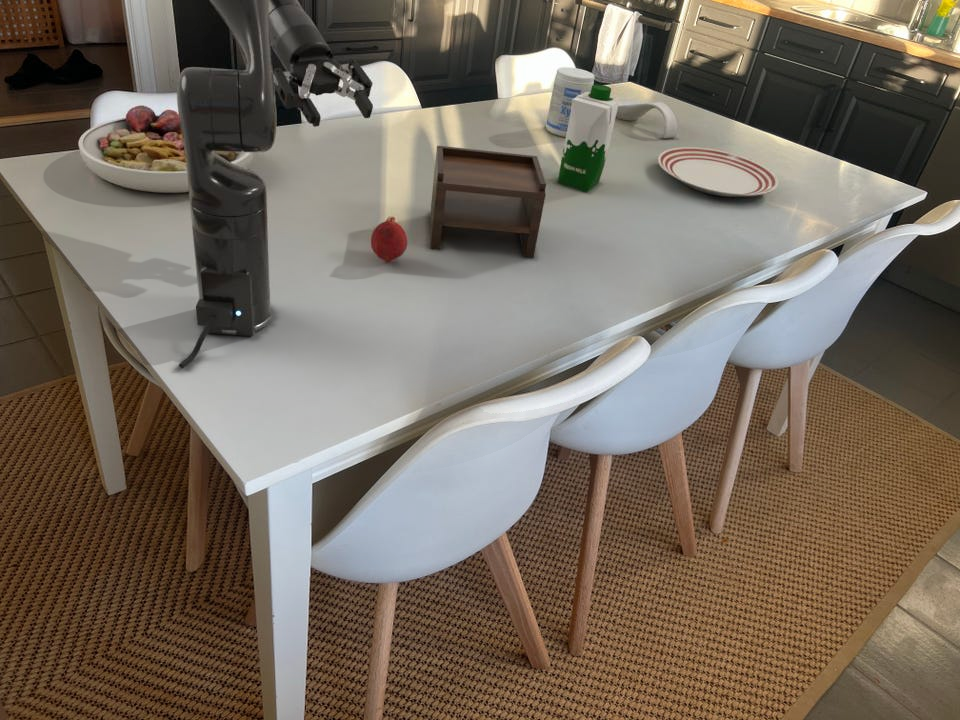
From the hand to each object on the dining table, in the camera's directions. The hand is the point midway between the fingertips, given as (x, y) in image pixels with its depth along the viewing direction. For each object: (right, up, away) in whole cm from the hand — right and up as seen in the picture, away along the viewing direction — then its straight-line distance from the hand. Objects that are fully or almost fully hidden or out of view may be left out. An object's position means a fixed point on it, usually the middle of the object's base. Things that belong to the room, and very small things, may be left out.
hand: (344, 118), depth 113 cm
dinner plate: (+75, +5, +62) cm, 97 cm away
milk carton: (+41, +2, +50) cm, 65 cm away
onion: (+5, -20, +10) cm, 23 cm away
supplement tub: (+42, +21, +78) cm, 91 cm away
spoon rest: (+64, +28, +92) cm, 115 cm away
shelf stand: (+20, -14, +23) cm, 34 cm away
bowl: (-38, 0, +30) cm, 48 cm away
